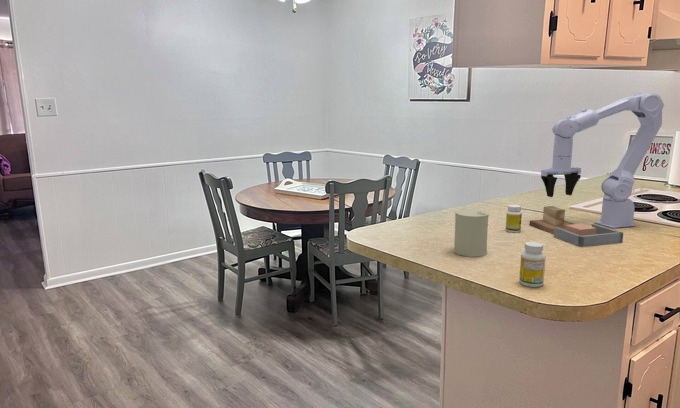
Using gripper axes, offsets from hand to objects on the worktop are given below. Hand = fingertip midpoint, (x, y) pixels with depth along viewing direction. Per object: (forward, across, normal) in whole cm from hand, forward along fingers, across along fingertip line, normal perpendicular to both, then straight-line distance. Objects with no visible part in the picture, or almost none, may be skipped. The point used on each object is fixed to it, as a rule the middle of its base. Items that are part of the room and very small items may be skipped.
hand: (559, 195), depth 167 cm
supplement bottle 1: (+10, +20, +3) cm, 22 cm away
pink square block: (+9, +5, +16) cm, 19 cm away
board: (+10, +5, +6) cm, 12 cm away
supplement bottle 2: (+10, +44, +44) cm, 63 cm away
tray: (+10, +5, +18) cm, 22 cm away
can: (+10, +45, +18) cm, 49 cm away
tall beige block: (+8, +5, +3) cm, 10 cm away
